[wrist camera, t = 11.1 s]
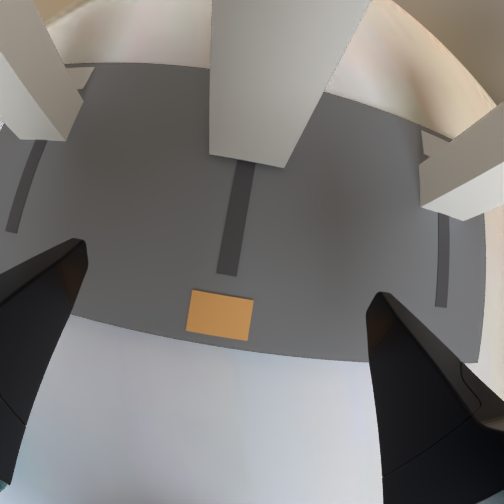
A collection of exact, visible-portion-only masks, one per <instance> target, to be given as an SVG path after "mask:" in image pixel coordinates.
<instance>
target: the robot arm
mask: <svg viewBox="0 0 504 504" xmlns="http://www.w3.org/2000/svg"><path fill="white" fill-rule="evenodd" d="M87 269H88V254H87V246H86V242H85V241H84V240H83V239H78V238H71V239H69V240H67V241H65V242H63V243H60V244H58V245H56V246H54V247H52V248H50V249H48V250H46V251H44V252H42V253H40V254H38V255H36V256H34V257H32V258H30V259H28V260H26V261H24V262H22V263H20V264H18V265H16V266H14V267H12V268H11V269H9V270H7V271H5V272H3V273H1V274H0V480H1V481H3V482H5V483H6V484H8V485H10V484H11V481H12V476H13V472H14V468H15V464H16V460H17V456H18V453H19V449H20V445H21V442H22V438H23V435H24V432H25V428H26V425H27V422H28V418H29V415H30V412H31V409H32V406H33V404H34V401H35V398H36V395H37V392H38V390H39V387H40V384H41V382H42V379H43V376H44V374H45V371H46V369H47V366H48V364H49V361H50V359H51V356H52V354H53V352H54V349H55V347H56V345H57V342H58V340H59V338H60V336H61V333H62V331H63V329H64V327H65V325H66V322H67V320H68V318H69V316H70V314H71V311H72V309H73V307H74V304H75V301H76V299H77V296H78V293H79V290H80V288H81V285H82V282H83V280H84V277H85V275H86V272H87ZM366 329H367V344H368V358H369V365H370V371H371V378H372V385H373V392H374V399H375V407H376V415H377V423H378V433H379V443H380V453H381V466H382V477H383V478H382V483H383V504H504V401H503V400H502V399H500V398H499V397H498V396H497V395H496V394H495V393H494V392H493V391H492V390H491V389H490V388H489V387H487V386H486V385H485V384H484V383H483V382H482V381H481V380H480V379H479V378H478V377H477V376H476V375H475V374H474V373H473V372H472V371H471V370H470V369H469V368H468V367H467V366H466V365H465V364H464V363H463V362H462V361H461V362H460V359H459V358H458V357H457V356H456V355H455V354H454V353H453V352H452V351H451V350H450V349H449V348H448V347H447V346H446V345H445V344H444V343H443V342H442V341H441V340H440V339H439V338H438V337H437V336H436V335H435V334H433V333H432V332H431V331H430V330H429V329H428V328H427V327H426V326H425V325H424V324H423V323H422V322H421V321H420V320H419V319H418V318H417V317H416V316H415V315H414V314H412V313H411V312H410V311H409V310H408V309H407V308H406V307H405V306H404V305H403V304H402V303H401V302H400V301H398V300H397V299H396V298H395V297H394V296H393V295H392V294H391V293H389V292H382V291H379V292H377V293H376V294H375V296H374V298H373V300H372V302H371V303H370V305H369V307H368V309H367V311H366Z"/></svg>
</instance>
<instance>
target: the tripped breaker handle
mask: <svg viewBox="0 0 504 504" xmlns="http://www.w3.org/2000/svg"><path fill="white" fill-rule="evenodd" d="M370 2H371V0H212V20H211V48H210V96H209V154H211V155H217V156H223V157H229V158H234V159H240V160H245V161H250V162H256V163H261V164H266V165H271V166H276V167H280V168H284V167H285V165H286V164H287V162H288V160H289V158H290V156H291V154H292V152H293V150H294V148H295V146H296V144H297V142H298V140H299V138H300V136H301V134H302V132H303V130H304V128H305V127H306V125H307V123H308V121H309V119H310V117H311V115H312V113H313V111H314V109H315V107H316V105H317V103H318V101H319V99H320V98H321V96H322V94H323V92H324V90H325V88H326V86H327V84H328V82H329V80H330V78H331V76H332V74H333V73H334V71H335V69H336V67H337V65H338V63H339V61H340V59H341V57H342V55H343V53H344V52H345V50H346V48H347V46H348V44H349V42H350V40H351V38H352V36H353V34H354V33H355V31H356V29H357V27H358V25H359V23H360V21H361V19H362V17H363V16H364V14H365V12H366V10H367V8H368V6H369V4H370Z"/></svg>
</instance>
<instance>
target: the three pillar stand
mask: <svg viewBox="0 0 504 504" xmlns="http://www.w3.org/2000/svg"><path fill="white" fill-rule="evenodd" d="M209 96H210V69H206V68H197V67H188V66H177V65H164V64H147V63H79V64H64V63H63V61H62V60H61V58H60V56H59V54H58V52H57V50H56V47H55V45H54V43H53V41H52V39H51V37H50V35H49V33H48V31H47V29H46V27H45V25H44V22H43V20H42V18H41V16H40V14H39V12H38V9H37V7H36V5H35V3H34V1H33V0H0V119H1V120H2V121H3V122H4V125H3V127H2V129H1V131H0V274H1V273H3V272H5V271H7V270H9V269H11V268H12V267H14V266H16V265H18V264H20V263H22V262H24V261H26V260H28V259H30V258H32V257H34V256H36V255H38V254H40V253H42V252H44V251H46V250H48V249H50V248H52V247H54V246H56V245H58V244H60V243H63V242H65V241H67V240H69V239H71V238H78V239H83V240H84V241H85V242H86V246H87V254H88V269H87V272H86V275H85V277H84V280H83V282H82V285H81V288H80V290H79V293H78V296H77V299H76V301H75V304H74V307H73V309H72V311H71V314H72V315H76V316H80V317H83V318H87V319H91V320H95V321H98V322H102V323H106V324H110V325H114V326H118V327H123V328H127V329H131V330H136V331H140V332H145V333H149V334H154V335H159V336H164V337H169V338H174V339H179V340H184V341H189V342H195V343H201V344H206V345H212V346H218V347H225V348H231V349H238V350H245V351H252V352H259V353H267V354H275V355H284V356H293V357H303V358H313V359H325V360H338V361H352V362H369V358H368V344H367V329H366V311H367V309H368V307H369V305H370V303H371V302H372V300H373V298H374V296H375V294H376V293H377V292H379V291H382V292H389V293H391V294H392V295H393V296H394V297H395V298H396V299H397V300H398V301H400V302H401V303H402V304H403V305H404V306H405V307H406V308H407V309H408V310H409V311H410V312H411V313H412V314H414V315H415V316H416V317H417V318H418V319H419V320H420V321H421V322H422V323H423V324H424V325H425V326H426V327H427V328H428V329H429V330H430V331H431V332H432V333H433V334H435V335H436V336H437V337H438V338H439V339H440V340H441V341H442V342H443V343H444V344H445V345H446V346H447V347H448V348H449V349H450V350H451V351H452V352H453V353H454V354H455V355H456V356H457V357H458V358H459V359H460V362H461V361H462V362H463V363H478V358H479V351H480V344H481V336H482V327H483V316H484V303H485V283H486V240H485V220H484V213H485V212H487V211H490V210H492V209H495V208H497V207H499V206H502V205H504V101H503V102H502V103H501V104H499V105H498V106H497V107H495V108H494V109H493V110H492V111H490V112H489V113H488V114H486V115H485V116H484V117H482V118H481V119H480V120H478V121H477V122H476V123H475V124H473V125H472V126H471V127H469V128H468V129H467V130H465V131H464V132H463V133H461V134H460V135H459V136H457V137H456V138H455V139H453V140H452V139H450V138H447V137H445V136H443V135H441V134H439V133H436V132H434V131H432V130H430V129H427V128H425V127H423V126H420V125H418V124H416V123H413V122H411V121H408V120H406V119H403V118H401V117H398V116H395V115H393V114H390V113H387V112H385V111H382V110H379V109H376V108H373V107H371V106H368V105H365V104H362V103H359V102H356V101H352V100H349V99H346V98H343V97H339V96H336V95H333V94H329V93H326V92H323V94H322V96H321V98H320V99H319V101H318V103H317V105H316V107H315V109H314V111H313V113H312V115H311V117H310V119H309V121H308V123H307V125H306V127H305V128H304V130H303V132H302V134H301V136H300V138H299V140H298V142H297V144H296V146H295V148H294V150H293V152H292V154H291V156H290V158H289V160H288V162H287V164H286V165H285V167H284V168H280V167H276V166H271V165H266V164H261V163H256V162H250V161H245V160H240V159H234V158H229V157H223V156H217V155H211V154H209Z"/></svg>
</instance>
